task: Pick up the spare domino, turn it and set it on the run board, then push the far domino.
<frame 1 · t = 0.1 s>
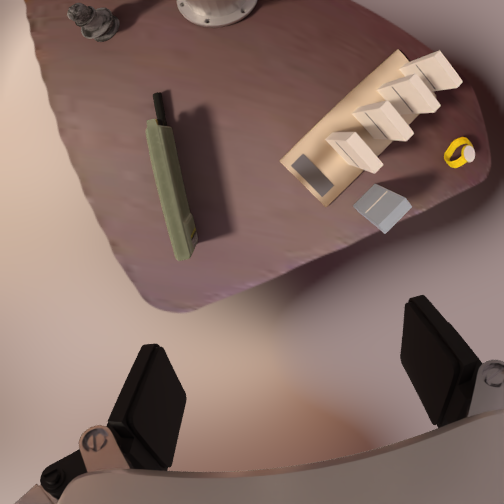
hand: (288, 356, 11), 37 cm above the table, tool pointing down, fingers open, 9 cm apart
domino 4: (340, 148, 42), point 1 cm above the table, touching run board
domino 3: (366, 122, 40), point 1 cm above the table, touching run board
yellow wristwatch: (449, 150, 42), on the table
run board: (364, 123, 41), on the table
domino 1: (411, 78, 37), point 1 cm above the table, touching run board
handheld radio: (174, 169, 45), on the table
domino 2: (390, 99, 39), point 1 cm above the table, touching run board
dark grey tall piece: (106, 28, 35), on the table
spare domino: (367, 198, 45), on the table
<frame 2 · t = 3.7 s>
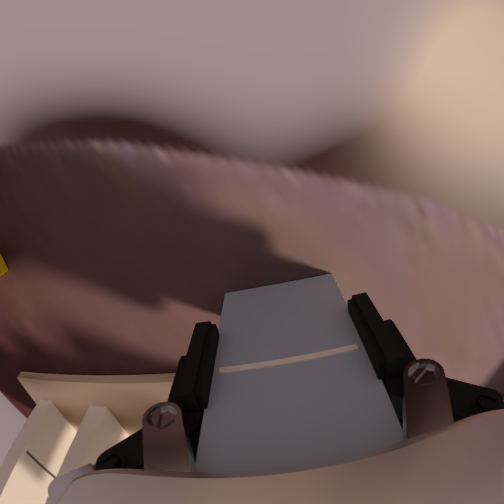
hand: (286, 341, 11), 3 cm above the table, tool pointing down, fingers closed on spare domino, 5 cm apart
run board: (187, 421, 19), on the table
domino 1: (61, 420, 19), point 1 cm above the table, touching run board
domino 2: (114, 427, 18), point 1 cm above the table, touching run board
spare domino: (280, 297, 15), on the table, touching gripper
when the fingers open (5 cm above the table, at t = 9.6 s): spare domino stays where it is, resting on run board.
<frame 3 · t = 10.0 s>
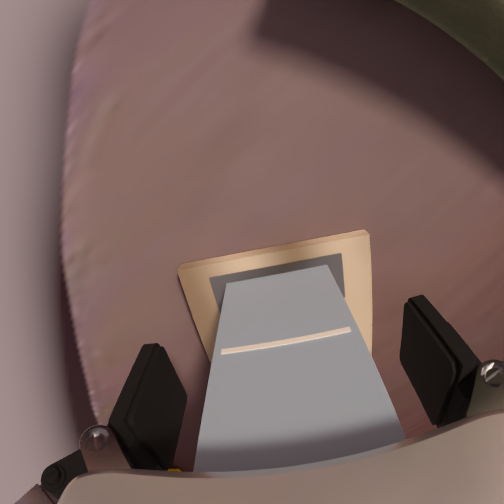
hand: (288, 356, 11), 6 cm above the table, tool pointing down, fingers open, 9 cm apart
run board: (302, 414, 21), on the table
handheld radio: (474, 45, 11), on the table
spare domino: (279, 288, 16), point 1 cm above the table, touching run board
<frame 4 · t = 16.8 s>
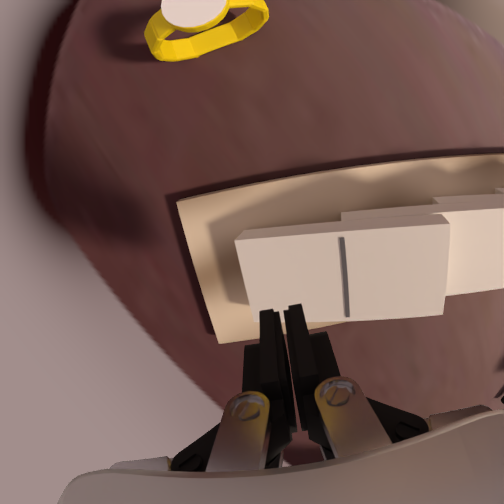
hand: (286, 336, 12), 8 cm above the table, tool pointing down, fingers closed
domino 3: (436, 240, 16), point 2 cm above the table, tilted 75°, touching domino 2, domino 4, run board
yellow wristwatch: (214, 40, 14), on the table
run board: (410, 235, 18), on the table
domino 1: (249, 277, 17), point 2 cm above the table, tilted 73°, touching domino 2, run board
domino 2: (345, 259, 17), point 2 cm above the table, tilted 75°, touching domino 1, domino 3, run board
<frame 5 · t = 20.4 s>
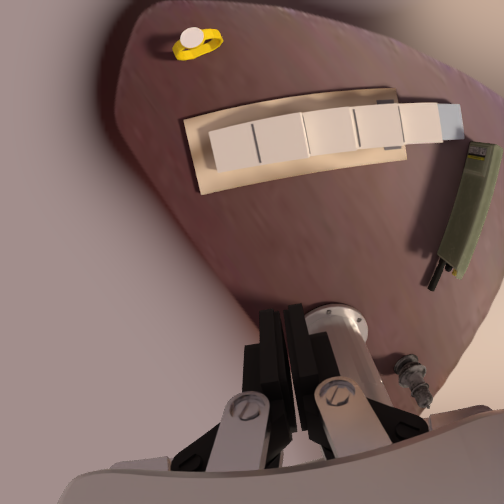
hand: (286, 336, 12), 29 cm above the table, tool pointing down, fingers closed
domino 4: (358, 127, 34), point 2 cm above the table, tilted 75°, touching domino 3, run board, spare domino
domino 3: (312, 133, 34), point 2 cm above the table, tilted 75°, touching domino 2, domino 4, run board
yellow wristwatch: (201, 50, 32), on the table
run board: (301, 134, 36), on the table
domino 1: (215, 151, 35), point 2 cm above the table, tilted 73°, touching domino 2, run board
handheld radio: (453, 215, 40), on the table
domino 2: (261, 141, 35), point 2 cm above the table, tilted 75°, touching domino 1, domino 3, run board
dark grey tall piece: (405, 364, 50), on the table
spare domino: (401, 123, 33), point 2 cm above the table, tilted 94°, touching domino 4, run board
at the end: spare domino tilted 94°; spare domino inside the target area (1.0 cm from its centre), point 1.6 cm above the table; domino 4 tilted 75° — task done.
